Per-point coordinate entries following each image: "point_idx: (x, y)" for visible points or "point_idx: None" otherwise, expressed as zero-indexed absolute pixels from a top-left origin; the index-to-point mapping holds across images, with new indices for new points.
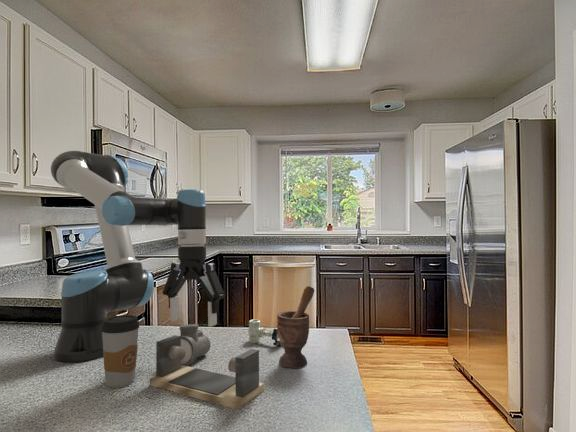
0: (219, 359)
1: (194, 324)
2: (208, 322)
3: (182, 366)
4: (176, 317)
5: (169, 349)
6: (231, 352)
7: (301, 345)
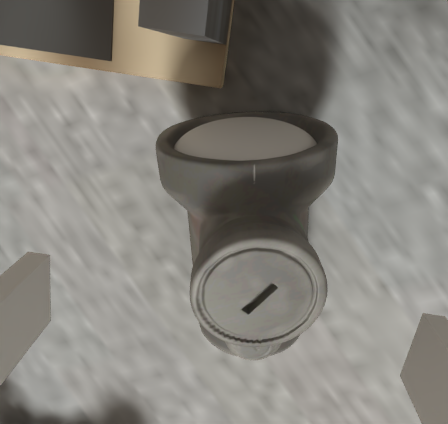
0: (139, 259)
1: (242, 334)
2: (30, 268)
3: (195, 69)
4: (417, 369)
5: None
6: (141, 341)
7: None
